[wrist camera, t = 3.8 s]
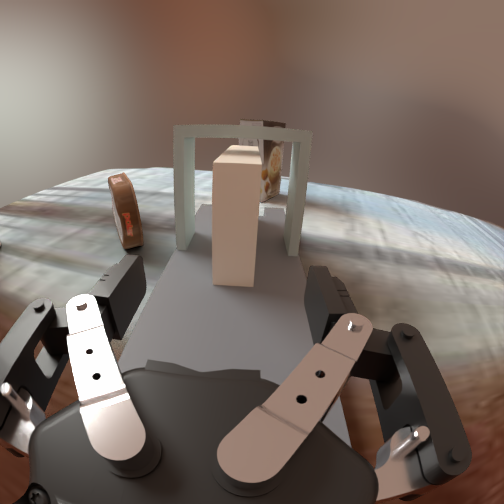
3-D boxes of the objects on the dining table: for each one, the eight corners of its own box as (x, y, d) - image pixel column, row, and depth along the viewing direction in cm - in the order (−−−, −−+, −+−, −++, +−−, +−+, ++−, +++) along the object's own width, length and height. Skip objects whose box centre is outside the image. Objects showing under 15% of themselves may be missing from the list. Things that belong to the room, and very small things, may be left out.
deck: (95, 472, 9) (80, 460, 8) (201, 216, 43) (201, 204, 43) (344, 492, 9) (358, 483, 8) (282, 220, 44) (283, 208, 43)
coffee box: (263, 203, 52) (269, 120, 45) (234, 197, 55) (238, 118, 47) (280, 193, 60) (286, 122, 52) (254, 189, 62) (258, 120, 55)
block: (212, 284, 23) (213, 162, 18) (228, 216, 38) (231, 145, 33) (253, 286, 23) (262, 164, 18) (253, 218, 38) (257, 146, 33)
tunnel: (176, 250, 28) (174, 125, 22) (186, 231, 32) (186, 125, 27) (297, 256, 28) (312, 131, 22) (291, 237, 33) (302, 130, 27)
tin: (147, 256, 30) (141, 186, 27) (122, 261, 29) (113, 190, 25) (129, 218, 42) (125, 168, 38) (111, 221, 40) (106, 171, 36)
